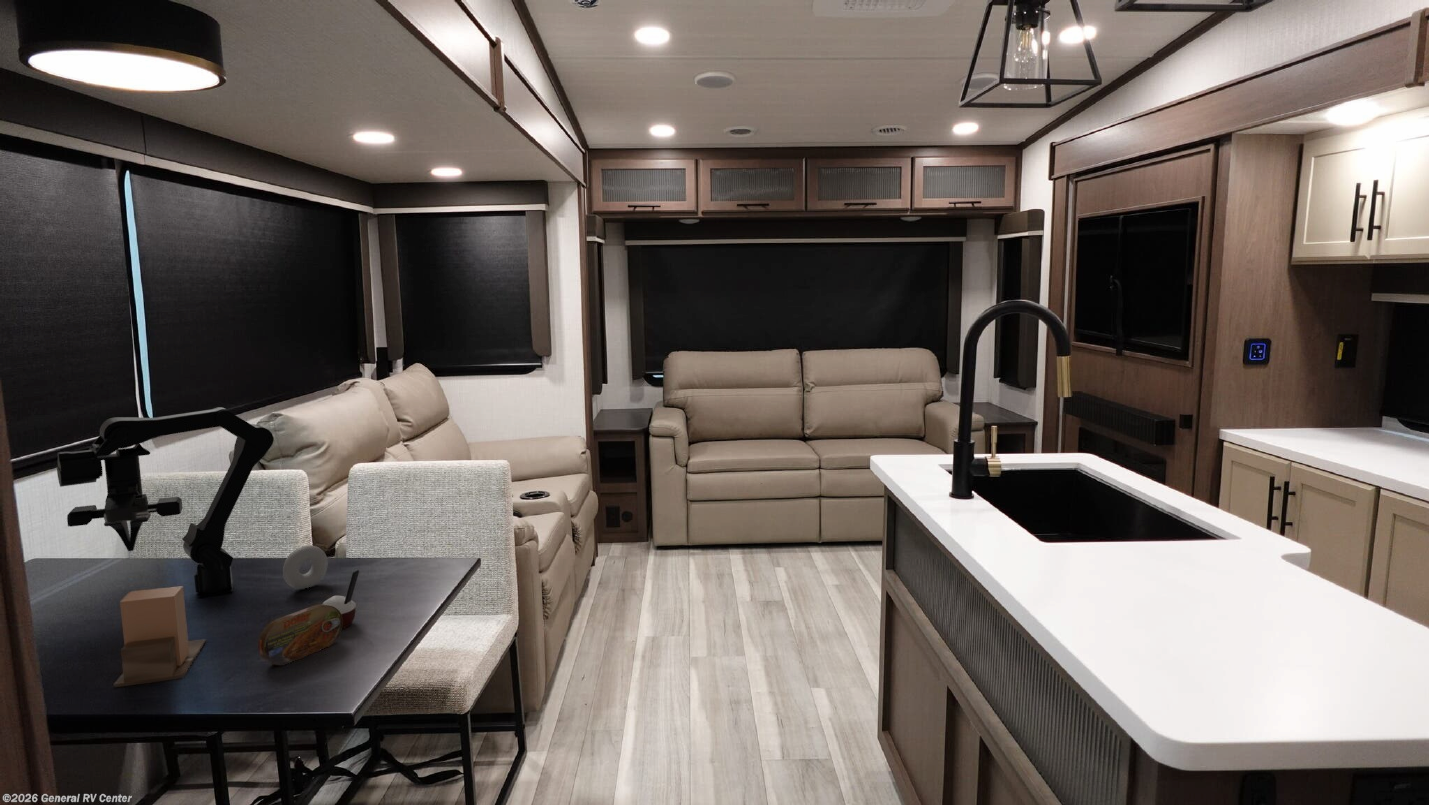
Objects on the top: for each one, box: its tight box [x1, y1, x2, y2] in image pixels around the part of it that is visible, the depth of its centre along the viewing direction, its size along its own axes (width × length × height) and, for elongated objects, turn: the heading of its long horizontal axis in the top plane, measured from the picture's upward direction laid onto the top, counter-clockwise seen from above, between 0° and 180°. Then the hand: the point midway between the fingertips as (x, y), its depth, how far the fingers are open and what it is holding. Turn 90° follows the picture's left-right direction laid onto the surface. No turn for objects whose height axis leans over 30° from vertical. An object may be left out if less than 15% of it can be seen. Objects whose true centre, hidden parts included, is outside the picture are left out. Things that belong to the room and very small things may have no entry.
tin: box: [258, 603, 343, 666], centre depth 144 cm, size 15×3×8 cm, turn 148°
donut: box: [282, 544, 329, 590], centre depth 176 cm, size 10×4×10 cm, turn 147°
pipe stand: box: [113, 637, 207, 688], centre depth 140 cm, size 15×10×7 cm, turn 20°
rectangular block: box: [119, 585, 189, 666], centre depth 138 cm, size 5×8×13 cm, turn 110°
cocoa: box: [321, 569, 360, 629], centre depth 156 cm, size 10×6×12 cm, turn 54°
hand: (131, 550), depth 163 cm, fingers closed
